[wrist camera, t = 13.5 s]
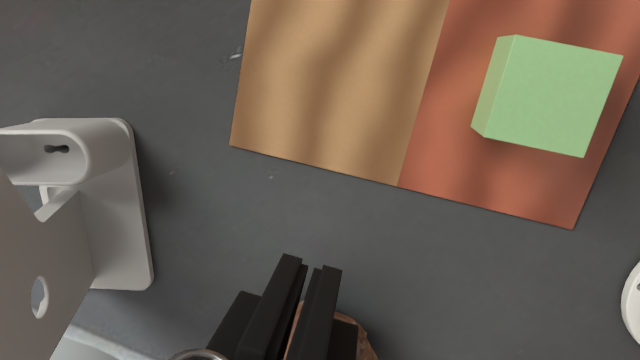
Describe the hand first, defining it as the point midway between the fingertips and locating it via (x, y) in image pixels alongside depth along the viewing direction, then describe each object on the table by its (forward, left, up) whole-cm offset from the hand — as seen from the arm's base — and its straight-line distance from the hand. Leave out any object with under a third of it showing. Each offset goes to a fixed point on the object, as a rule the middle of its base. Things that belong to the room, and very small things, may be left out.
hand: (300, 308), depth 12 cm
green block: (-12, -7, -26) cm, 29 cm away
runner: (-5, -6, -26) cm, 27 cm away
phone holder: (+22, +12, -26) cm, 36 cm away
